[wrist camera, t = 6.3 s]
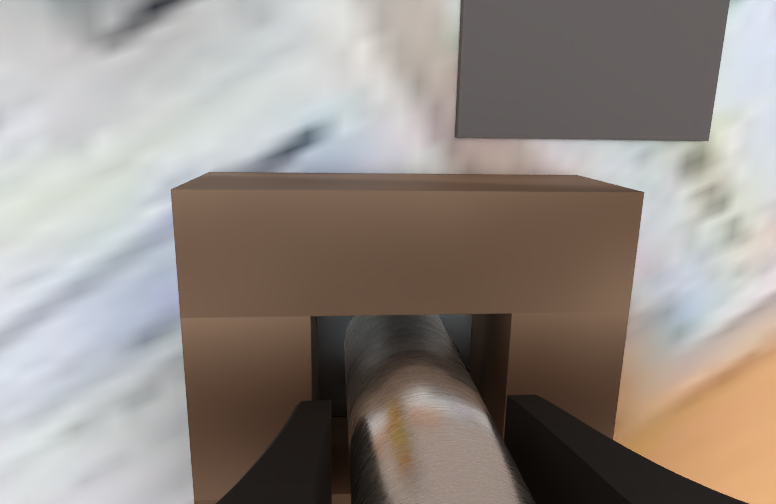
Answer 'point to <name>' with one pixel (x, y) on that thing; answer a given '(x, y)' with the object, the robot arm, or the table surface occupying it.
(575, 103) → the rubber mat
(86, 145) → the table surface
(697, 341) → the table surface
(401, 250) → the walnut block
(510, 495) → the steel peg
